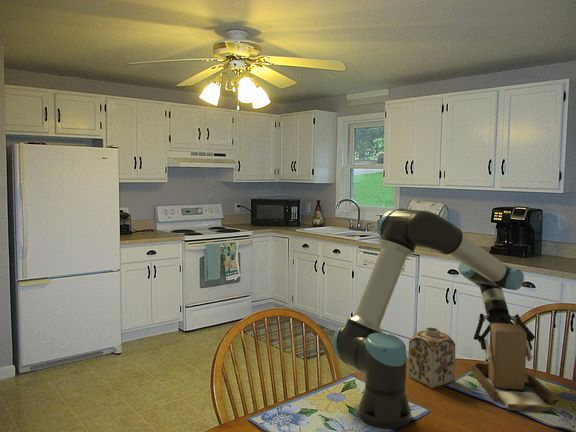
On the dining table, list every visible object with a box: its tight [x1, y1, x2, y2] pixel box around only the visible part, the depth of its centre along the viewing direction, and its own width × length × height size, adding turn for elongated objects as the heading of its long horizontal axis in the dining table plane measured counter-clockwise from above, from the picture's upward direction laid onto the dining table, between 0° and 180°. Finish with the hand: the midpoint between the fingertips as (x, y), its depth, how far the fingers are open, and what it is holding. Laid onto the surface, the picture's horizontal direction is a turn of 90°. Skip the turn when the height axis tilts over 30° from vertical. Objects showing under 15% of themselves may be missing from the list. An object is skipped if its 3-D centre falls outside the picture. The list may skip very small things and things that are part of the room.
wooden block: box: [487, 323, 527, 391], centre depth 165 cm, size 10×10×20 cm
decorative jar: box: [407, 326, 456, 389], centre depth 169 cm, size 12×12×18 cm
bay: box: [471, 362, 554, 413], centre depth 160 cm, size 18×28×4 cm, turn 176°
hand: (509, 358), depth 163 cm, fingers open, 13 cm apart
